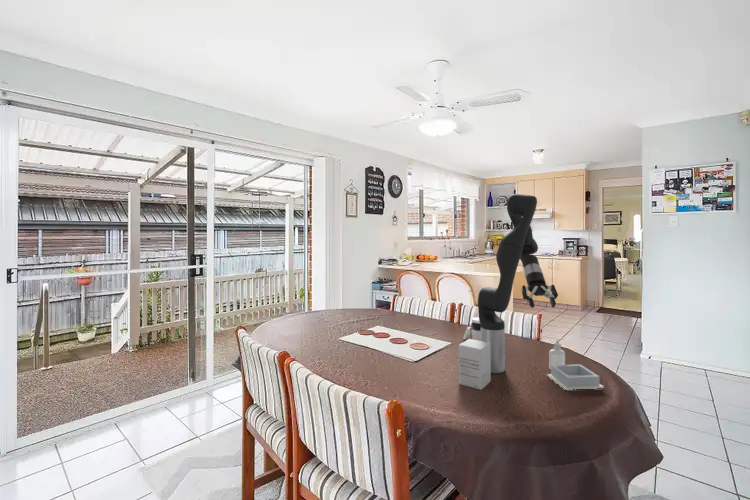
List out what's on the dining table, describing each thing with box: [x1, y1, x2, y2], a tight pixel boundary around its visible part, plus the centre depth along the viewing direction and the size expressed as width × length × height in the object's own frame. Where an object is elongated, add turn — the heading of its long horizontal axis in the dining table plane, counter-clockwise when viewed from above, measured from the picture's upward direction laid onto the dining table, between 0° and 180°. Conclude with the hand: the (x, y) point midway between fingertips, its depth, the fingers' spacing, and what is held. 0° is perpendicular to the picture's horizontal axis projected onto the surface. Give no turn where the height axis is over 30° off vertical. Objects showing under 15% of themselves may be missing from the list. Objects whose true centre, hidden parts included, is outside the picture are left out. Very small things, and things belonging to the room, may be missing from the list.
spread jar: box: [463, 316, 481, 341], centre depth 185 cm, size 12×11×12 cm
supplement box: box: [458, 338, 492, 391], centre depth 136 cm, size 9×9×15 cm
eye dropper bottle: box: [548, 340, 566, 371], centre depth 147 cm, size 4×6×12 cm
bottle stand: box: [546, 363, 605, 391], centre depth 135 cm, size 14×12×4 cm
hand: (543, 306), depth 158 cm, fingers open, 8 cm apart
